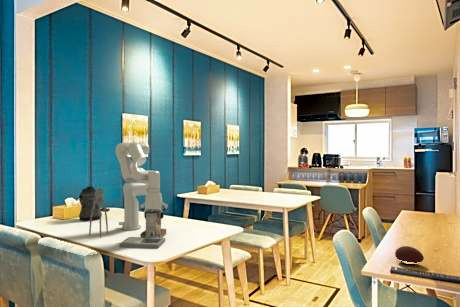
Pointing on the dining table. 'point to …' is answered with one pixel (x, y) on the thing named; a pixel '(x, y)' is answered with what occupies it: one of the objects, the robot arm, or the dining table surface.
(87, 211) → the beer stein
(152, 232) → the coffee box
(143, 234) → the stall
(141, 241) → the board
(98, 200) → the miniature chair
